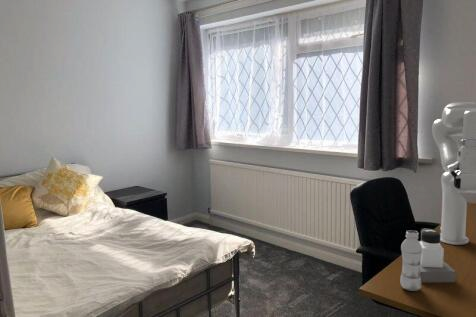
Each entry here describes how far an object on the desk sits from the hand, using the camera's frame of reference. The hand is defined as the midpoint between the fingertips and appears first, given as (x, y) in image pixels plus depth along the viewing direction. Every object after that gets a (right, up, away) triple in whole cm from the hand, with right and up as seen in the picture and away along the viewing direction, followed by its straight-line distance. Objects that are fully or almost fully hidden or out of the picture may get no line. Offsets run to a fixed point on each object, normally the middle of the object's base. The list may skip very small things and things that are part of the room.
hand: (470, 187), depth 147 cm
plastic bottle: (-30, -33, -16) cm, 48 cm away
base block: (-19, -31, -6) cm, 37 cm away
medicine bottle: (-19, -27, -6) cm, 34 cm away
